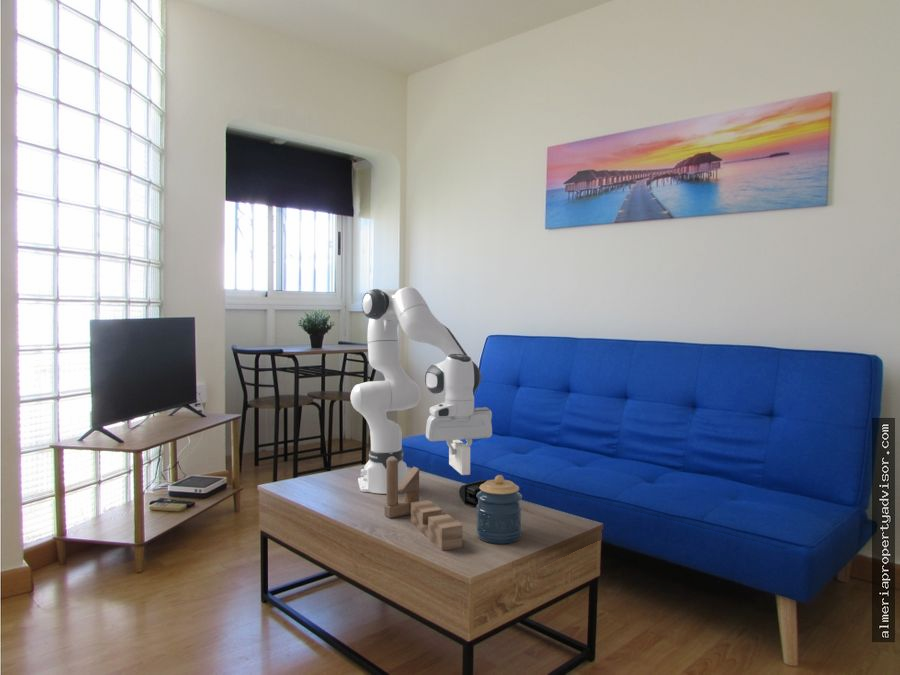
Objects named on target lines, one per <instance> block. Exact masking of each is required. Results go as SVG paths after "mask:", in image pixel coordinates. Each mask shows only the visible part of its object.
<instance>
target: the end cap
mask: <svg viewBox="0 0 900 675" xmlns="http://www.w3.org/2000/svg"><path fill="white" fill-rule="evenodd" d="M486 481H488V479H482V480H478V481H474V482H470V483H466V484H465V483H464V484H462V485H461V486H460V487H459V492H458V493H459V494H458V495H459V498H460V499H461V500H460V501H462V502H463V503H464V505H466V506H468V507H470V508H471V507H472V508H474V509H475V508H477V504H478V498H477V496H476V495H477V493H478V492H479V491H481V490H480V488H479V487H480V485H481V484H483V483H485V482H486Z"/></svg>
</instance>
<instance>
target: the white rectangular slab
mask: <svg viewBox="0 0 900 675" xmlns="http://www.w3.org/2000/svg"><path fill="white" fill-rule="evenodd" d="M466 444H467V443H465V442H463V441H462V440H453V444H451V445H452V447H453V448H455V449H456V455H451V454H450V448H449V447H448V465H449V466H451V467H452V468H453V469H454V470H455V471H456V472H458V474H460V475H461V476H468V475H471V446H470V447H469V446H468V445H466Z"/></svg>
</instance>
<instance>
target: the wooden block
mask: <svg viewBox="0 0 900 675" xmlns="http://www.w3.org/2000/svg"><path fill="white" fill-rule="evenodd" d="M401 494H404V501H399V495H401ZM419 501H420V468H418V467H416V466H412V468H411V469H410V471H408V472H407V476H406V477H405V478H404V480H403V481H402V482H401V483H400V485H399V486H398V459H396V458H389V459H387V494H386V503H385V504H384V516H385V517H387V518H389V519H393V518H397V517H402V516H403V517H404V516H407V515H411V502H419Z"/></svg>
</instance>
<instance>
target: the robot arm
mask: <svg viewBox="0 0 900 675" xmlns="http://www.w3.org/2000/svg"><path fill="white" fill-rule="evenodd" d="M361 309H362V313H363V314H364V315H365V317H366V318H368V323H367V334H366V337H367V352H368V354H367V356H368V363H369V366H370V367H371V368H372V369H373V370H376V371H378V372H380V373H381V374H382V375H383V376H384V380H372V381H370V380H369V381H365V382H361V383H358V384H355V385H354V386H353V388H352V390H351V392H350V403H351V405H352V407H353V409H354V410H355V411H356V412H358V413H359V414H360V415H362V417H363V418H364V419H365V420H366V423H367V424H368V427H369V435H370V449H369V453H368V461H367V462H366V463H365V465H364V468H361V469H360V476H361V477H358V478H357V483H358V486H359V491H361V492H363V493H372V494H383V495H384V494H386V495H387V459H389V458H396V459H398V486H399V485H400V483H401V482H402V481H403V480H404V478H405V477H406V476H407V474H408V470H407V469H408V468H407V466H408V465H407V463H406V462H405V461H403V459H404V450H403V447H402V446H403V445H402V443H403V442H402V441H403V440H402V438H403V436H402V435H403V434H402V432H403V431H402V428H401V426H400V425H399V424H398V423H397V422H395V421H394V420H391V419H388V416H387V412H394V411H397V412H398V411H405V410H408V409H409V410H410V409H412V408H415V407H417V406H418V404H419V402H420V401H421V398H422V397H421V396H422V393H421V392H422V391H421V389H420V387H419V385H418V383H417V382H416V381H415V380H413V379H411V377H410V376H408V374H407V373H406V371H405V370H404V368H403V365H402V363H401V357H400V349H399V346H400V345H399V334H398V326H399V325H400V328H401V330H402V331H403V333H404V334H405V335H406V337H407V338H408V339H410V340H412V341H415V342H418V343H424V344H428V345H430V346H433V347H436V348H438V349H439V350H441V351H442V352H443V354H444V355H445V358H444V360H442V361H441V362H438V363H435V364H432V365H430V366H429V367H428V368H427V370H426V371H425V377H424V383H425V387H426V388H427V390H428V391H429V392H430V393H432V394H434V395H445V396H444V401H443V402H440V403H438V404H435V405H432V406H430V407H429V408H428V409H429V411H428V412H429V414H430V415H429V416H428V418H427V420H426V427H425V438H426V439H427V440H428V441H429V442H442V441H443V442H445V441H446V445H447V446H448V449H449V448H450V454H451V455H456V449H455V448H453V447H452V445H451V444H453V440H460V441H462V440H465V442H466V443H465V444H466V445H468V446H469V447H470V448H471V446H472V443H473V439H474V440H476V439H478V440H479V439H490V438H491V437H492V435H493V427H492V426H493V425H492V418H493V413H492V410H491V409H490V408H488V407H487V406H483V407H475V396H474V392H475V391H477V389H478V388H479V386H480V384H481V383H482V382H481V381H482V372H481V370H480V367H478V365H477V364H476V363H475V362H474V361H473V359H472V357H470V356H469V355H468V354H467V353H466V350H464V349H463V347H462V346H461V344H460V343H459V341H458V339H457V338H456V336H454V334H453V333H452V331H451V330H450V328H448V327H447V326H446V325H444V324H443V323H442V322H441V321H440V320H438V318H437V317H435V315H434V314H433V312H432V311H431V310H430V307H429V305H428V303H427V302H426V300H425V299H424V297H423V295H422V294H421V293H420V292H419V290H417V289H416V288H415V287H412V286H405V287H402V288H391V289H390V288H386V289H385V288H383V289H379V288H374V289H369V290H367V291H366V292H365V294H364V295H363V297H362V300H361Z"/></svg>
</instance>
